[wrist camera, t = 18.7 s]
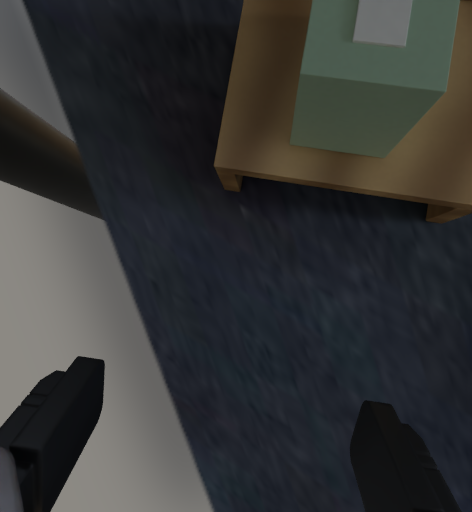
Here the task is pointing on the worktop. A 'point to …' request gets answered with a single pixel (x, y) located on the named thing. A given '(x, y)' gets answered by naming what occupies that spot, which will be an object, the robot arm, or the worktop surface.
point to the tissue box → (371, 72)
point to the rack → (332, 162)
